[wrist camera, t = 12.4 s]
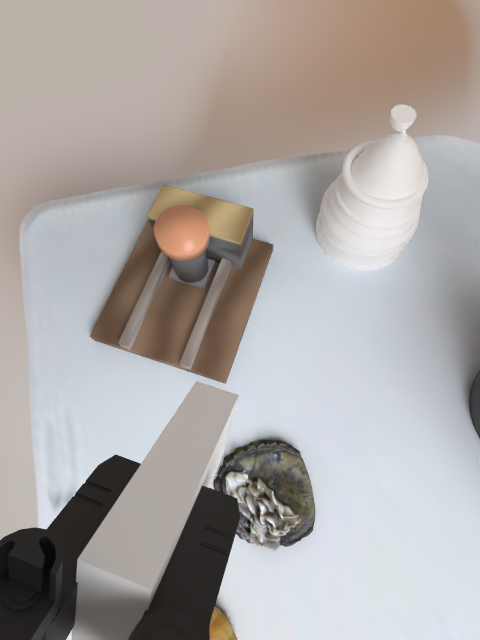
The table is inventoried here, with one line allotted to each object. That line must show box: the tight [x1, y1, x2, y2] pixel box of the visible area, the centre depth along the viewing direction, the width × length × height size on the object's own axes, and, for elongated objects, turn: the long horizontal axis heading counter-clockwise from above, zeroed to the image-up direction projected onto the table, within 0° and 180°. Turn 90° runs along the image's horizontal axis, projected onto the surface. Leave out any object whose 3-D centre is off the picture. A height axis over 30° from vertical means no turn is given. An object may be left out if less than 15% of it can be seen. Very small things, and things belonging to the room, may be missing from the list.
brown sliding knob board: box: [90, 185, 273, 384], centre depth 49 cm, size 18×20×8 cm
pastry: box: [209, 607, 237, 640], centre depth 38 cm, size 9×7×4 cm
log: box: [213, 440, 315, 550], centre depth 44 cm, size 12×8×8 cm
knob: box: [154, 205, 215, 289], centre depth 48 cm, size 6×6×10 cm
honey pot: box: [316, 105, 429, 271], centre depth 48 cm, size 13×13×18 cm
